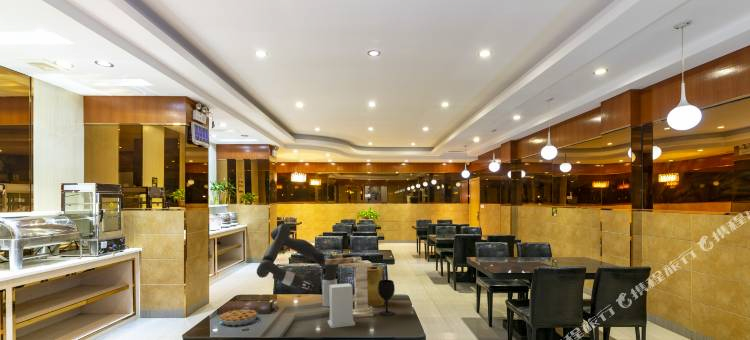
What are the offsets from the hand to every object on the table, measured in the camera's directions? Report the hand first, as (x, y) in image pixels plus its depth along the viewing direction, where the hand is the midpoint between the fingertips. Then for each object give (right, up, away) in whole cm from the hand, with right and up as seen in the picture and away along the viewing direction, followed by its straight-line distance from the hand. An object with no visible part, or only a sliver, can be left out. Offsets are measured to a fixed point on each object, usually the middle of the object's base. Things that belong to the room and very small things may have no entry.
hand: (316, 289), depth 241 cm
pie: (-48, -22, +8) cm, 53 cm away
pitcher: (+33, -21, +40) cm, 56 cm away
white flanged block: (+14, -19, -2) cm, 24 cm away
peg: (+14, +12, +15) cm, 24 cm away
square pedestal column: (+23, -20, +16) cm, 34 cm away
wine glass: (+41, -20, +16) cm, 49 cm away
